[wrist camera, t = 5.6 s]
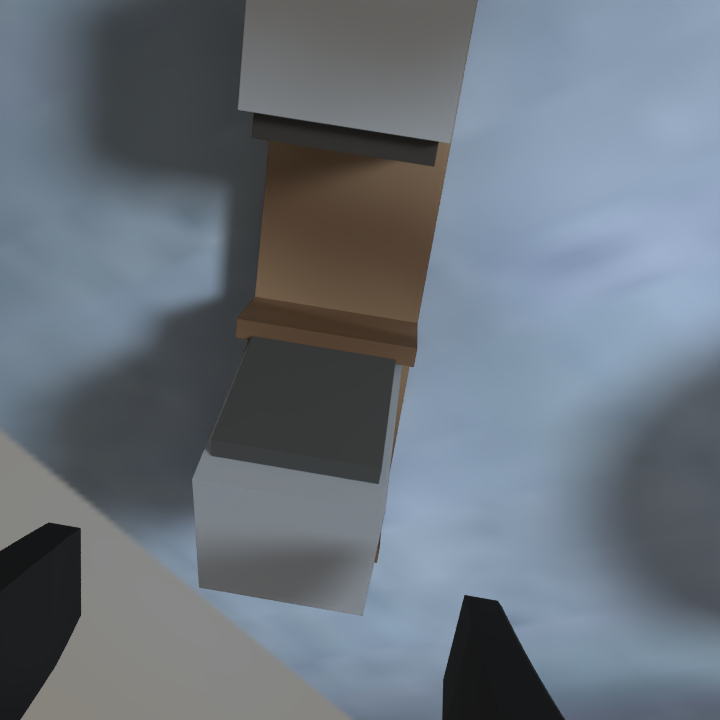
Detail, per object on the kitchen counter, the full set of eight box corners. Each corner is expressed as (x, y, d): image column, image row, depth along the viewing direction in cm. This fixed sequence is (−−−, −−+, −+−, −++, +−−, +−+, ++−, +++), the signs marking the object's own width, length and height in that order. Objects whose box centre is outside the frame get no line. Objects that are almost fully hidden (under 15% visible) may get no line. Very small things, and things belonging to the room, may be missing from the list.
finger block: (382, 461, 20) (362, 615, 17) (249, 439, 21) (199, 587, 17) (405, 343, 18) (388, 496, 14) (251, 318, 18) (191, 462, 14)
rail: (382, 499, 22) (370, 627, 17) (245, 476, 22) (191, 596, 17) (487, -68, 16) (519, -144, 11) (301, -97, 16) (244, -185, 11)
